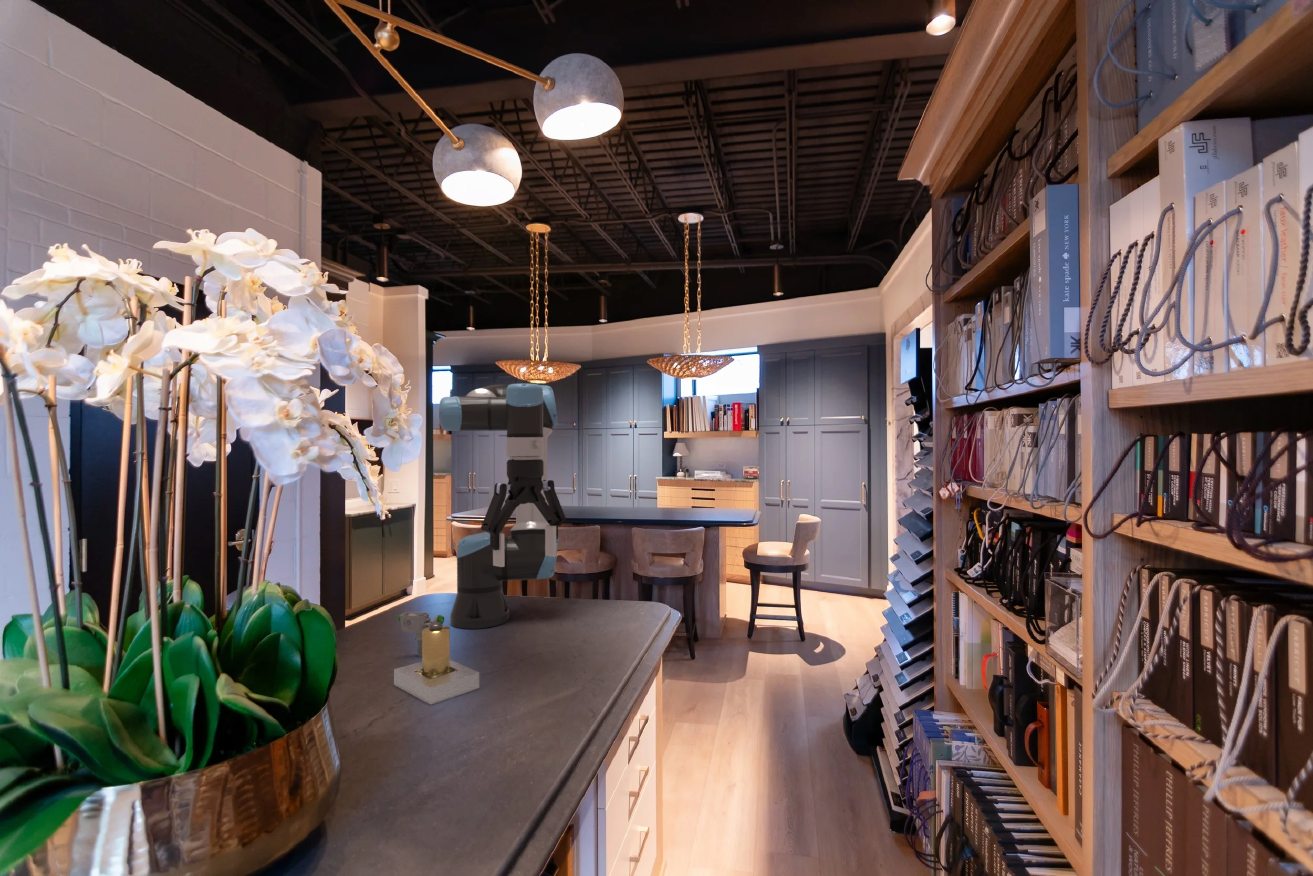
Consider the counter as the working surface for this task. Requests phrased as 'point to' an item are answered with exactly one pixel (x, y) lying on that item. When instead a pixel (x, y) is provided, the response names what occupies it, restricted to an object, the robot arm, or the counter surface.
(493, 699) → the counter surface
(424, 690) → the housing
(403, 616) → the mechanical component
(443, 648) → the brass capped cylinder
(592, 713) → the counter surface
